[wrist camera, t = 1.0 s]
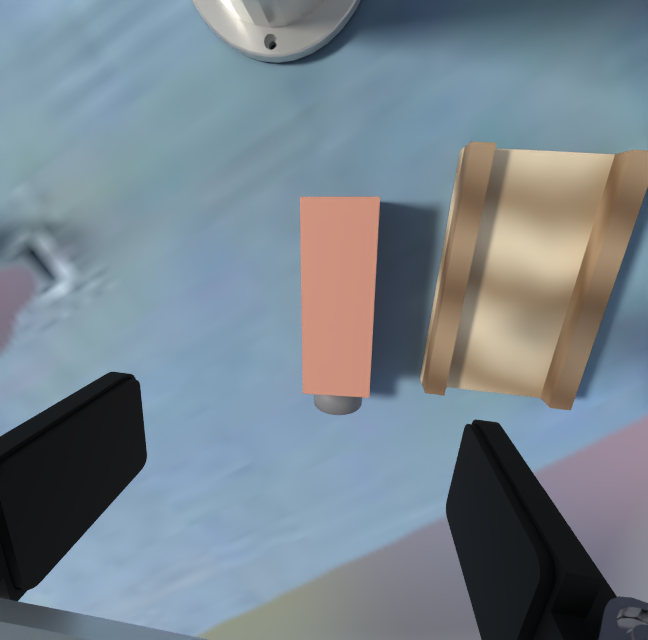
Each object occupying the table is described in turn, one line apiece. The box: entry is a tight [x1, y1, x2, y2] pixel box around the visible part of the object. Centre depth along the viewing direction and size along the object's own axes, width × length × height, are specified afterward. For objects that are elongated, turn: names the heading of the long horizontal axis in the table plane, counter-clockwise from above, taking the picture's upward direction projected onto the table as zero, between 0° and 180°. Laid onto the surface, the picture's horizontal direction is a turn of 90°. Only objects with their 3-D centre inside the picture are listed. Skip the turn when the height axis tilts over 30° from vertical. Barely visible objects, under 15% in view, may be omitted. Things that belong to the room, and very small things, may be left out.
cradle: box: [420, 142, 648, 410], centre depth 24 cm, size 18×11×2 cm, turn 176°
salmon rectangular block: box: [300, 197, 380, 415], centre depth 25 cm, size 16×5×5 cm, turn 0°
